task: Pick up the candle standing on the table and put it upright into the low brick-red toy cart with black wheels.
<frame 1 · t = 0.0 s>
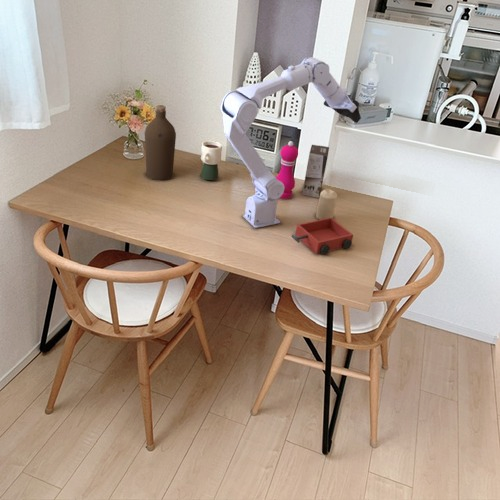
hand: (350, 116, 167), 32 cm above the table, tool tilted 50°, fingers open, 7 cm apart
coffee box: (311, 191, 193), on the table
cart wheels: (322, 240, 164), on the table
olive oil: (159, 175, 191), on the table
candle: (324, 217, 177), on the table
pepper mill: (282, 195, 188), on the table
character mug: (209, 178, 193), on the table
cart: (322, 240, 164), on the table
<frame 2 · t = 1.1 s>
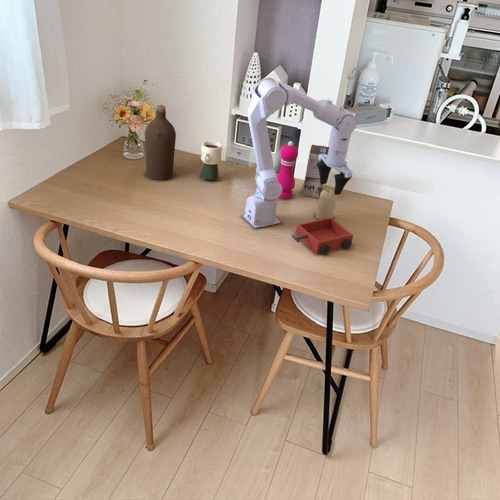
hand: (330, 188, 172), 11 cm above the table, tool pointing down, fingers open, 7 cm apart
nothing on the table moved.
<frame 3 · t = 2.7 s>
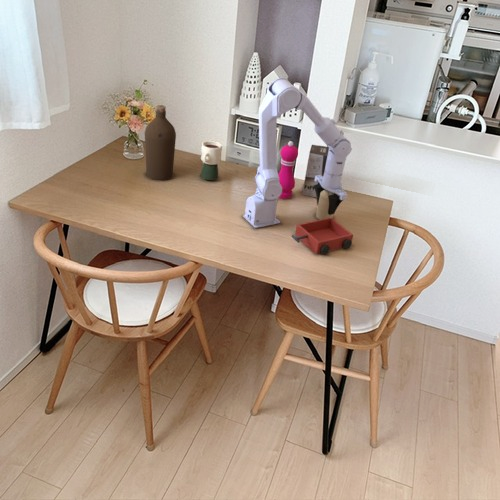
hand: (325, 209, 176), 3 cm above the table, tool pointing down, fingers closed on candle, 5 cm apart
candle: (323, 217, 177), on the table, touching gripper
everything else where it was.
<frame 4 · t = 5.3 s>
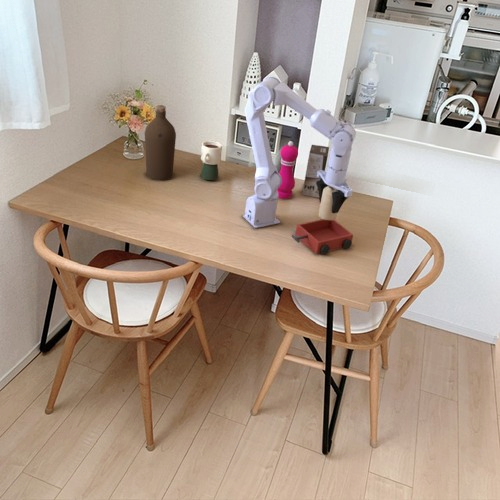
hand: (329, 207, 162), 10 cm above the table, tool pointing down, fingers closed on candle, 5 cm apart
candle: (327, 216, 163), point 7 cm above the table, touching gripper
everything else where it was.
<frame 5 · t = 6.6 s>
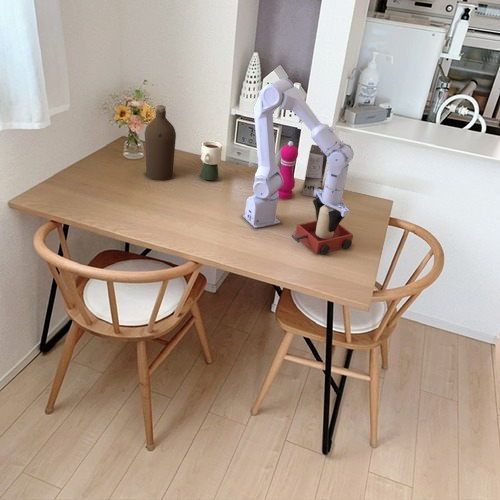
hand: (325, 226, 162), 5 cm above the table, tool pointing down, fingers closed on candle, 5 cm apart
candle: (324, 234, 163), point 2 cm above the table, touching gripper
everything else where it was.
when the fingers open (3 cm above the table, at t = 7.7 s): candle stays where it is, resting on cart.
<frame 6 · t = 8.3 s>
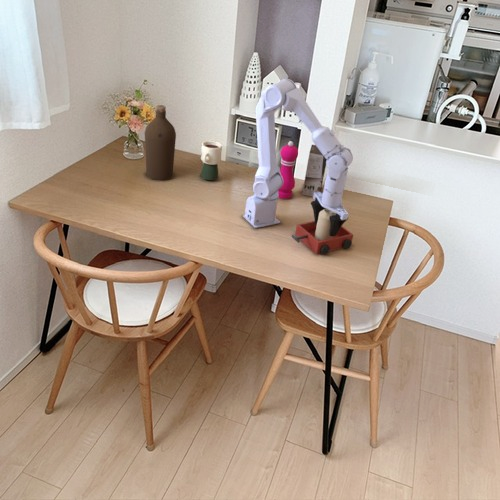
hand: (325, 229, 162), 4 cm above the table, tool pointing down, fingers open, 7 cm apart
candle: (323, 239, 164), resting on cart
everything else where it was.
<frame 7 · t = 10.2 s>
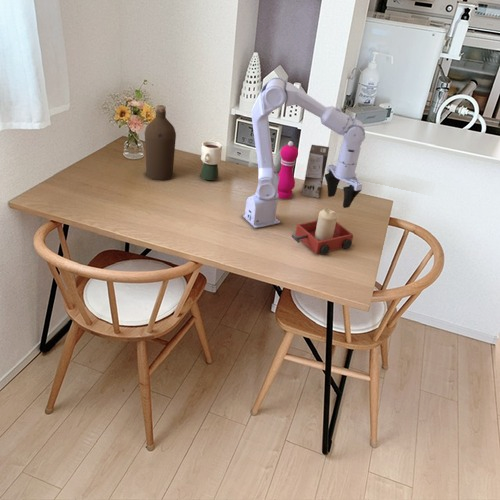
hand: (338, 201, 165), 10 cm above the table, tool pointing down, fingers open, 7 cm apart
nothing on the table moved.
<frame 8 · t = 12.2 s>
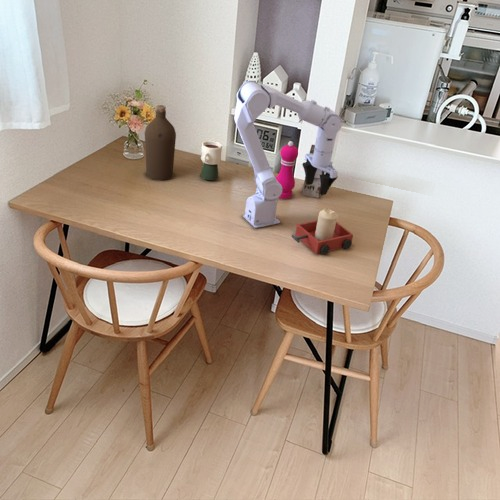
hand: (316, 189, 170), 10 cm above the table, tool pointing down, fingers open, 7 cm apart
nothing on the table moved.
at the end: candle inside the target area in the cart (0.0 cm from its centre), point 0.4 cm above the cart's base; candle tilted 0°; the gripper is holding nothing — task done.
